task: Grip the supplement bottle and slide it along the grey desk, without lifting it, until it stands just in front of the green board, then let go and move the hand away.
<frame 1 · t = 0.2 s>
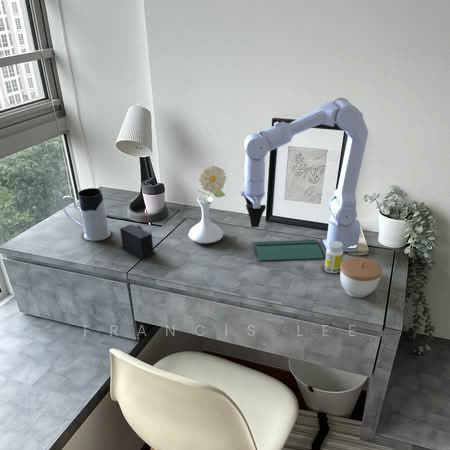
hand: (253, 221, 147), 10 cm above the table, tool pointing down, fingers open, 7 cm apart
supplement bottle: (332, 270, 143), on the table
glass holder: (89, 235, 163), on the table
trinket box: (357, 291, 133), on the table
green board: (288, 250, 152), on the table
digital camera: (139, 250, 154), on the table
flower in vase: (208, 239, 159), on the table
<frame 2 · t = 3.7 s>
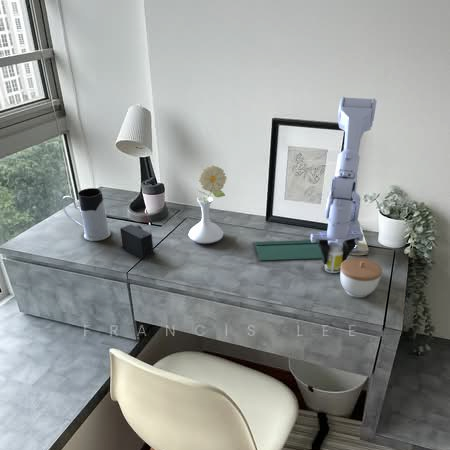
hand: (333, 262, 141), 2 cm above the table, tool pointing down, fingers closed on supplement bottle, 5 cm apart
supplement bottle: (332, 270, 143), on the table, touching gripper
everything else where it was.
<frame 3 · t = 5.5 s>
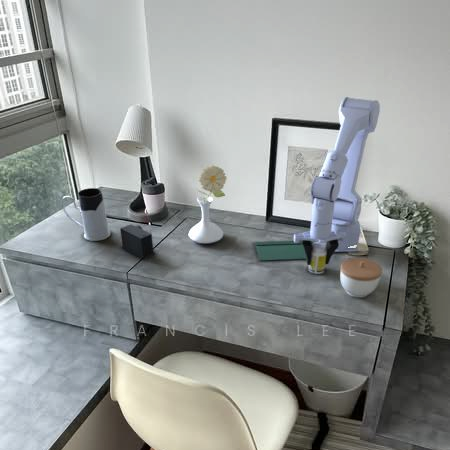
hand: (317, 263, 141), 2 cm above the table, tool pointing down, fingers closed on supplement bottle, 5 cm apart
supplement bottle: (316, 270, 143), on the table, touching gripper
everything else where it was.
when the fingers open (2 cm above the table, at t = 7.6 s): supplement bottle stays where it is, on the table.
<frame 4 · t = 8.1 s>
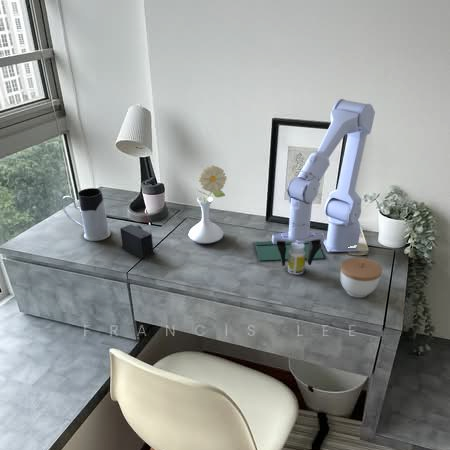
hand: (296, 263, 141), 2 cm above the table, tool pointing down, fingers open, 7 cm apart
supplement bottle: (295, 271, 142), on the table
everything else where it was.
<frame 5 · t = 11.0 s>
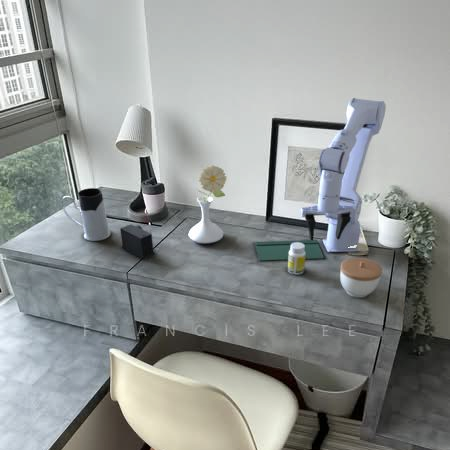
hand: (324, 238, 139), 9 cm above the table, tool pointing down, fingers open, 7 cm apart
nothing on the table moved.
at the end: supplement bottle inside the target area (0.3 cm from its centre), on the table; supplement bottle tilted 0°; the gripper is holding nothing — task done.
